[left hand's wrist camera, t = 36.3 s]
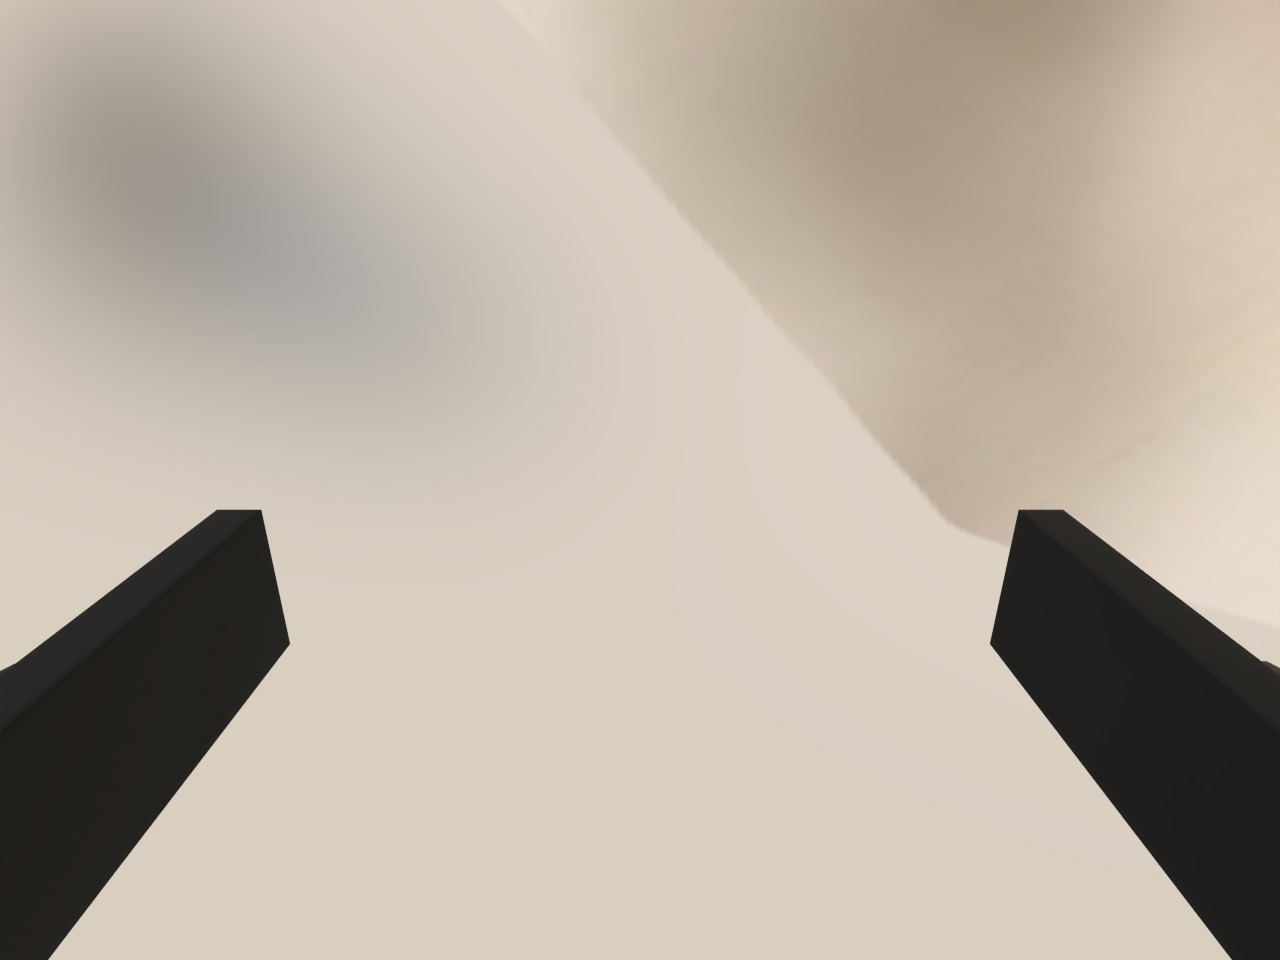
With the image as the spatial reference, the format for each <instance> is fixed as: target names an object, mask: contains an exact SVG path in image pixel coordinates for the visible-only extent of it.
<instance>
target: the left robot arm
mask: <svg viewBox="0 0 1280 960" xmlns="http://www.w3.org/2000/svg"><path fill="white" fill-rule="evenodd" d="M289 645H290V642H289V637H288V632H287V628H286V623H285V618H284V614H283V609H282V604H281V600H280V595H279V590H278V586H277V581H276V576H275V572H274V567H273V562H272V558H271V553H270V548H269V544H268V539H267V534H266V530H265V525H264V520H263V516H262V511H261V510H216V511H215V512H214V513H212V514H211V515H210V516H208V517H207V518H206V519H204V520H203V521H202V522H201V523H199V524H198V525H197V526H195V527H194V528H193V529H191V530H190V531H189V532H187V533H186V534H185V535H183V536H182V537H181V538H179V539H178V540H177V541H176V542H174V543H173V544H172V545H170V546H169V547H168V548H166V549H165V550H164V551H162V552H161V553H160V554H159V555H157V556H156V557H155V558H153V559H152V560H151V561H149V562H148V563H147V564H145V565H144V566H143V567H142V568H140V569H139V570H138V571H136V572H135V573H134V574H132V575H131V576H130V577H128V578H127V579H126V580H125V581H123V582H122V583H121V584H119V585H118V586H117V587H115V588H114V589H113V590H111V591H110V592H109V593H108V594H106V595H105V596H104V597H102V598H101V599H100V600H98V601H97V602H96V603H94V604H93V605H92V606H90V607H89V608H88V609H86V610H85V611H84V612H83V613H81V614H80V615H79V616H77V617H76V618H75V619H73V620H72V621H71V622H69V623H68V624H67V625H66V626H64V627H63V628H62V629H60V630H59V631H58V632H56V633H55V634H54V635H52V636H51V637H50V638H49V639H47V640H46V641H45V642H43V643H42V644H41V645H39V646H38V647H37V648H35V649H34V650H33V651H32V652H30V653H29V654H28V655H26V656H25V657H24V658H22V659H21V660H20V661H18V662H17V663H16V664H13V665H11V666H9V667H7V668H5V669H3V670H1V671H0V960H48V959H49V958H50V957H51V955H52V954H53V953H54V951H55V950H56V949H57V947H58V946H59V945H60V943H61V942H62V941H63V940H64V938H65V937H66V936H67V934H68V933H69V932H70V930H71V929H72V928H73V927H74V925H75V924H76V923H77V921H78V920H79V919H80V917H81V916H82V915H83V914H84V912H85V911H86V910H87V908H88V907H89V906H90V904H91V903H92V902H93V900H94V899H95V898H96V897H97V895H98V894H99V893H100V891H101V890H102V889H103V887H104V886H105V885H106V883H107V882H108V881H109V879H110V878H111V877H112V876H113V874H114V873H115V872H116V870H117V869H118V868H119V867H120V865H121V864H122V863H123V861H124V860H125V859H126V857H127V856H128V855H129V853H130V852H131V851H132V849H133V848H134V847H135V846H136V844H137V843H138V842H139V840H140V839H141V838H142V836H143V835H144V834H145V833H146V831H147V830H148V829H149V827H150V826H151V825H152V823H153V822H154V821H155V820H156V818H157V817H158V816H159V814H160V813H161V812H162V810H163V809H164V808H165V806H166V805H167V804H168V802H169V801H170V800H171V799H172V797H173V796H174V795H175V793H176V792H177V791H178V789H179V788H180V787H181V786H182V784H183V783H184V782H185V780H186V779H187V778H188V776H189V775H190V774H191V773H192V771H193V770H194V769H195V767H196V766H197V765H198V763H199V762H200V761H201V759H202V758H203V757H204V756H205V754H206V753H207V752H208V750H209V749H210V748H211V746H212V745H213V744H214V742H215V741H216V740H217V739H218V737H219V736H220V735H221V733H222V732H223V731H224V729H225V728H226V727H227V725H228V724H229V723H230V722H231V720H232V719H233V718H234V716H235V715H236V714H237V712H238V711H239V710H240V709H241V707H242V706H243V705H244V703H245V702H246V701H247V699H248V698H249V697H250V695H251V694H252V693H253V692H254V690H255V689H256V688H257V686H258V685H259V684H260V682H261V681H262V680H263V678H264V677H265V676H266V675H267V673H268V672H269V671H270V669H271V668H272V667H273V665H274V664H275V663H276V662H277V660H278V659H279V658H280V656H281V655H282V654H283V652H284V651H285V650H286V648H287V647H288V646H289ZM990 645H991V646H992V647H993V648H994V650H995V651H996V652H997V654H998V655H999V656H1000V658H1001V659H1002V660H1003V662H1004V663H1005V664H1006V665H1007V667H1008V668H1009V669H1010V671H1011V672H1012V673H1013V675H1014V676H1015V677H1016V678H1017V680H1018V681H1019V682H1020V684H1021V685H1022V686H1023V688H1024V689H1025V690H1026V692H1027V693H1028V694H1029V695H1030V697H1031V698H1032V699H1033V701H1034V702H1035V703H1036V705H1037V706H1038V707H1039V708H1040V710H1041V711H1042V712H1043V714H1044V715H1045V716H1046V718H1047V719H1048V720H1049V722H1050V723H1051V724H1052V725H1053V727H1054V728H1055V729H1056V731H1057V732H1058V733H1059V735H1060V736H1061V737H1062V739H1063V740H1064V741H1065V742H1066V744H1067V745H1068V746H1069V748H1070V749H1071V750H1072V752H1073V753H1074V754H1075V755H1076V757H1077V758H1078V759H1079V761H1080V762H1081V763H1082V765H1083V766H1084V767H1085V769H1086V770H1087V771H1088V772H1089V774H1090V775H1091V776H1092V778H1093V779H1094V780H1095V782H1096V783H1097V784H1098V785H1099V787H1100V788H1101V789H1102V791H1103V792H1104V793H1105V795H1106V796H1107V797H1108V798H1109V800H1110V801H1111V803H1112V804H1113V805H1114V806H1115V808H1116V809H1117V810H1118V812H1119V813H1120V814H1121V816H1122V817H1123V818H1124V819H1125V821H1126V822H1127V823H1128V825H1129V826H1130V827H1131V829H1132V830H1133V831H1134V833H1135V834H1136V835H1137V836H1138V838H1139V839H1140V840H1141V842H1142V843H1143V844H1144V846H1145V847H1146V848H1147V850H1148V851H1149V852H1150V853H1151V855H1152V856H1153V857H1154V859H1155V860H1156V861H1157V863H1158V864H1159V865H1160V867H1161V868H1162V869H1163V870H1164V872H1165V873H1166V874H1167V876H1168V877H1169V878H1170V880H1171V881H1172V882H1173V883H1174V885H1175V886H1176V887H1177V889H1178V890H1179V891H1180V893H1181V894H1182V895H1183V896H1184V898H1185V899H1186V900H1187V902H1188V903H1189V904H1190V906H1191V907H1192V908H1193V910H1194V911H1195V912H1196V913H1197V915H1198V916H1199V917H1200V919H1201V920H1202V921H1203V923H1204V924H1205V925H1206V927H1207V928H1208V929H1209V930H1210V932H1211V933H1212V934H1213V936H1214V937H1215V938H1216V940H1217V941H1218V942H1219V944H1220V945H1221V946H1222V947H1223V949H1224V950H1225V951H1226V953H1227V954H1228V955H1229V956H1230V958H1231V959H1232V960H1280V668H1279V667H1277V666H1275V665H1273V664H1271V663H1269V662H1267V661H1260V660H1259V659H1258V658H1256V657H1255V656H1254V655H1252V654H1251V653H1250V652H1249V651H1247V650H1246V649H1245V648H1243V647H1242V646H1241V645H1239V644H1238V643H1237V642H1235V641H1234V640H1233V639H1231V638H1230V637H1229V636H1228V635H1226V634H1225V633H1224V632H1222V631H1221V630H1220V629H1218V628H1217V627H1216V626H1214V625H1213V624H1212V623H1211V622H1209V621H1208V620H1207V619H1205V618H1204V617H1203V616H1201V615H1200V614H1199V613H1197V612H1196V611H1195V610H1193V609H1192V608H1191V607H1190V606H1188V605H1187V604H1186V603H1184V602H1183V601H1182V600H1180V599H1179V598H1178V597H1176V596H1175V595H1174V594H1173V593H1171V592H1170V591H1169V590H1167V589H1166V588H1165V587H1163V586H1162V585H1161V584H1159V583H1158V582H1157V581H1156V580H1154V579H1153V578H1152V577H1150V576H1149V575H1148V574H1146V573H1145V572H1144V571H1142V570H1141V569H1140V568H1138V567H1137V566H1136V565H1135V564H1133V563H1132V562H1131V561H1129V560H1128V559H1127V558H1125V557H1124V556H1123V555H1121V554H1120V553H1119V552H1118V551H1116V550H1115V549H1114V548H1112V547H1111V546H1110V545H1108V544H1107V543H1106V542H1104V541H1103V540H1102V539H1101V538H1099V537H1098V536H1097V535H1095V534H1094V533H1093V532H1091V531H1090V530H1089V529H1087V528H1086V527H1085V526H1083V525H1082V524H1081V523H1080V522H1078V521H1077V520H1076V519H1074V518H1073V517H1072V516H1070V515H1069V514H1068V513H1066V512H1065V511H1064V510H1019V511H1018V516H1017V520H1016V525H1015V530H1014V534H1013V539H1012V544H1011V548H1010V553H1009V558H1008V562H1007V567H1006V572H1005V576H1004V581H1003V586H1002V590H1001V595H1000V600H999V604H998V609H997V614H996V618H995V623H994V628H993V632H992V637H991V642H990Z"/></svg>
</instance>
